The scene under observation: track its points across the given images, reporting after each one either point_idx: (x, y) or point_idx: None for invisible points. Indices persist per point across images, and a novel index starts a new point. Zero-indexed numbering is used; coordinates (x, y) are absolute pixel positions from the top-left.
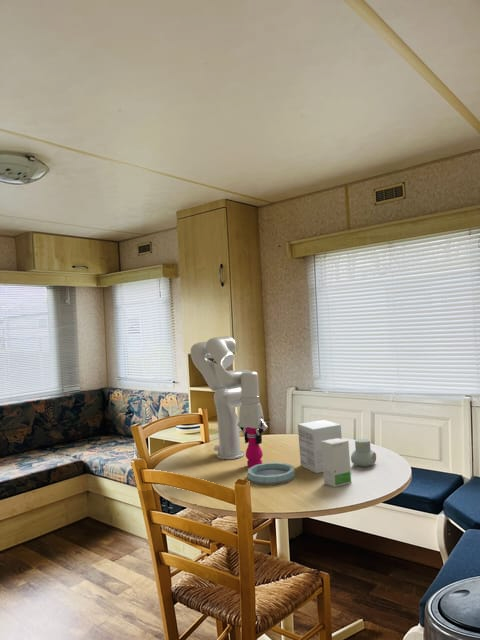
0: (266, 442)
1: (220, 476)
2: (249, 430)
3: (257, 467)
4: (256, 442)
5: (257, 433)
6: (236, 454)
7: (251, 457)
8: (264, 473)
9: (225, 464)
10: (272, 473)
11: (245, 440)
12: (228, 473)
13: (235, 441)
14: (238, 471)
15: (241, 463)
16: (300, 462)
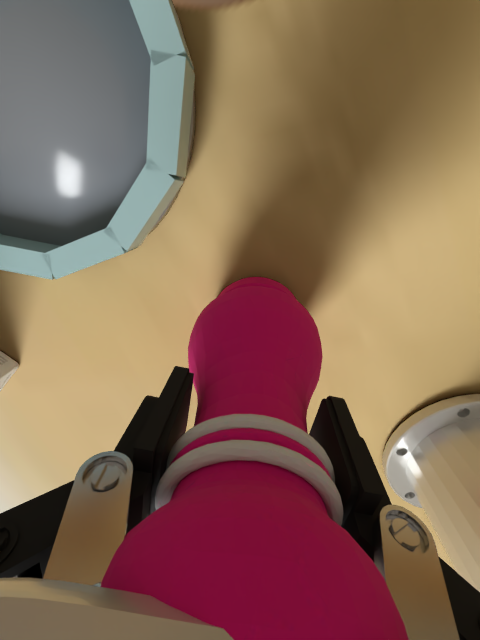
0: None
1: (439, 21)
2: (248, 526)
3: (150, 158)
4: (182, 378)
5: (119, 485)
6: (423, 445)
7: (249, 287)
8: (79, 107)
9: (458, 318)
10: (25, 124)
11: (344, 417)
12: (388, 125)
13: (477, 526)
14: (324, 191)
15: (356, 350)
16: (7, 371)
